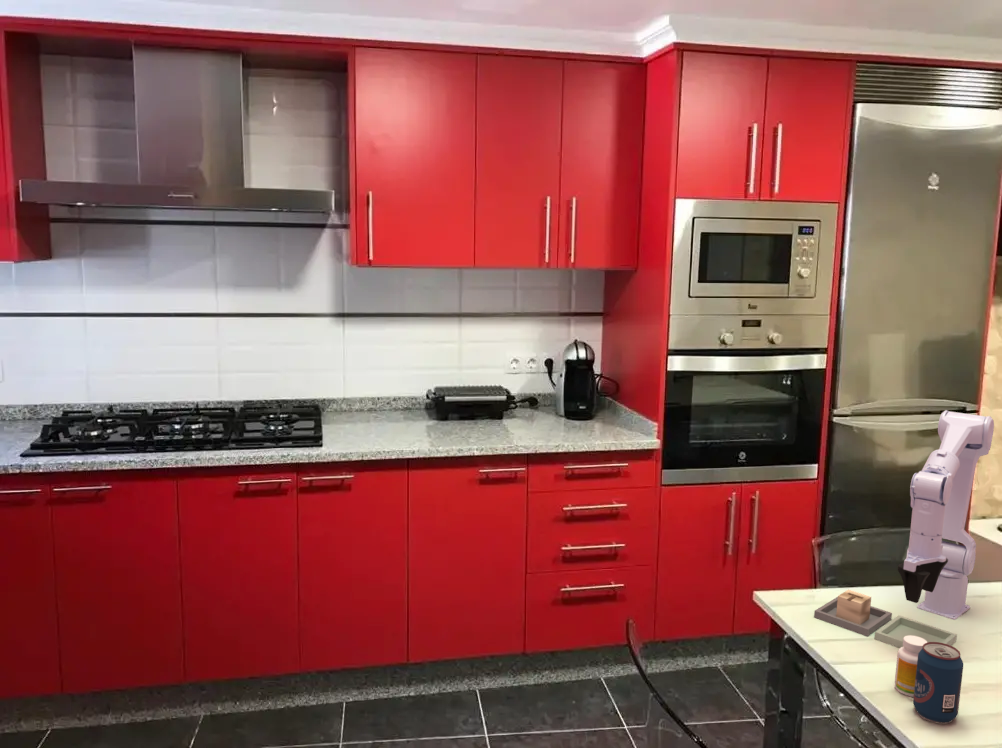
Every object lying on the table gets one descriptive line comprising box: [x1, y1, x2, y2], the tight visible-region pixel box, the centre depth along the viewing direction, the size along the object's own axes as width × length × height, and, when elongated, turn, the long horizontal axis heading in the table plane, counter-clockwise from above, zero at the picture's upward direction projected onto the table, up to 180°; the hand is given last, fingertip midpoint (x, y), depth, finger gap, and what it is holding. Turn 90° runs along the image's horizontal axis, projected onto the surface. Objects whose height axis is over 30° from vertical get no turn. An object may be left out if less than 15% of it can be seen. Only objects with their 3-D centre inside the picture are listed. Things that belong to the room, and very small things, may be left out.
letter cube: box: [836, 589, 872, 625], centre depth 180 cm, size 5×5×5 cm
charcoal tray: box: [813, 596, 893, 638], centre depth 181 cm, size 12×12×2 cm
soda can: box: [912, 642, 964, 724], centre depth 145 cm, size 7×7×12 cm
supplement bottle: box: [894, 635, 927, 698], centre depth 152 cm, size 5×5×10 cm
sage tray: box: [873, 614, 958, 649], centre depth 172 cm, size 12×12×2 cm
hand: (919, 595), depth 170 cm, fingers open, 7 cm apart
